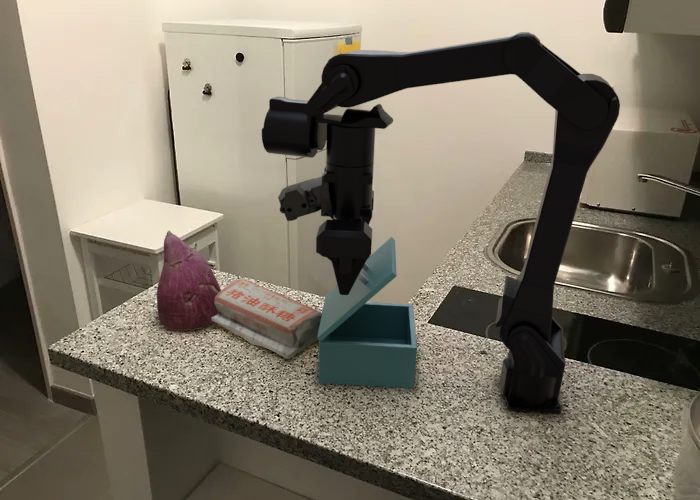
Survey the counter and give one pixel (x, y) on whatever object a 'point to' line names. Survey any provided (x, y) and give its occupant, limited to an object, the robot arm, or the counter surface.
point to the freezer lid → (359, 289)
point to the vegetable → (185, 287)
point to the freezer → (371, 348)
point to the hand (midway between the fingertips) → (346, 278)
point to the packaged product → (267, 318)
